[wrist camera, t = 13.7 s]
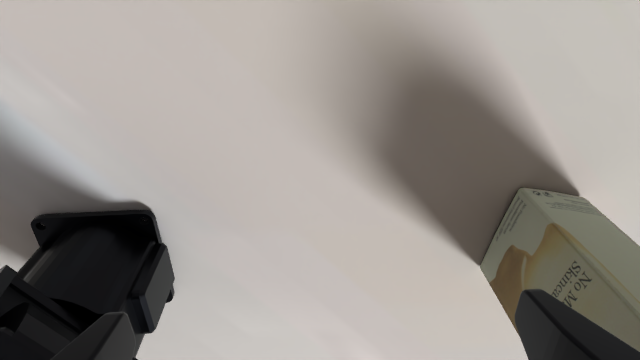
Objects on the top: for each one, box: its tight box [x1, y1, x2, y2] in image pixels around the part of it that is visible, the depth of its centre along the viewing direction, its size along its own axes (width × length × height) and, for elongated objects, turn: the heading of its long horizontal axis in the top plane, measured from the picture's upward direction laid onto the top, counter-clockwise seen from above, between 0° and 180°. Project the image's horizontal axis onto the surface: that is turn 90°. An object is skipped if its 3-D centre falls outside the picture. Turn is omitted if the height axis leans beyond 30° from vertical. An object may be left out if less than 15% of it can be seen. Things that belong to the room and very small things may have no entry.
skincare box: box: [480, 188, 640, 352], centre depth 20 cm, size 6×4×12 cm
